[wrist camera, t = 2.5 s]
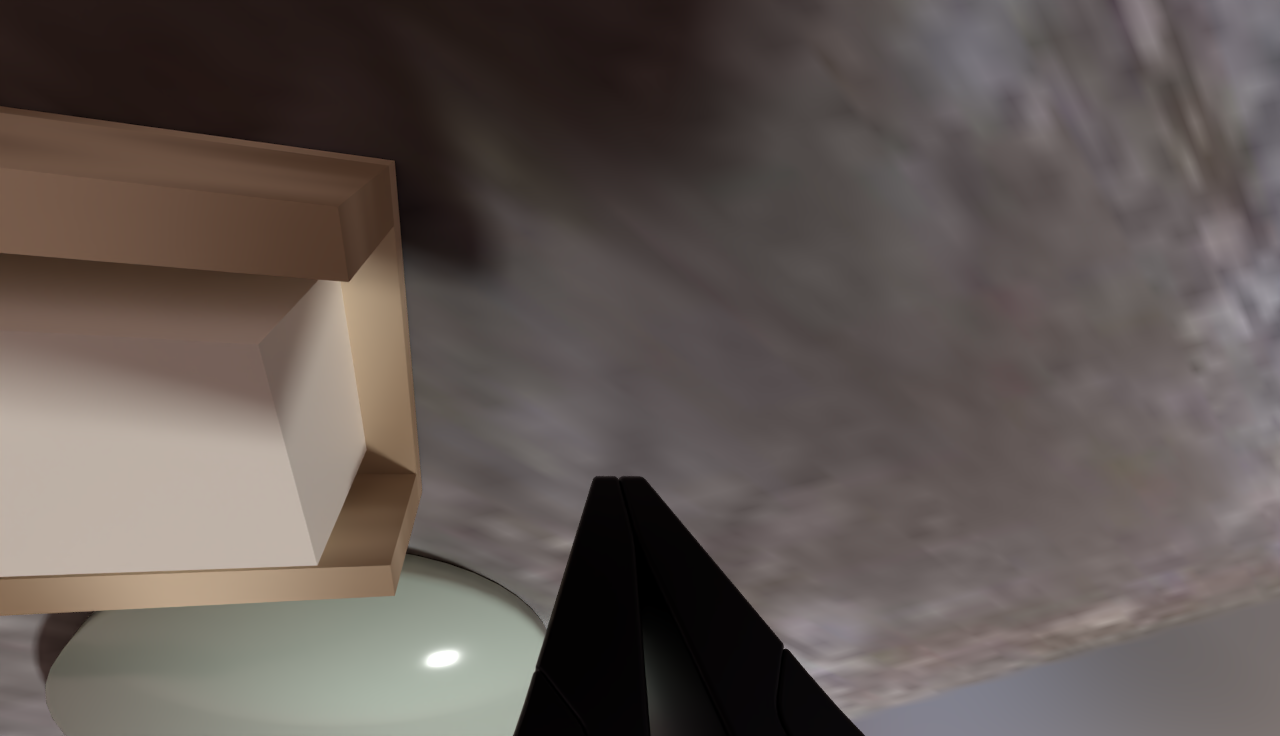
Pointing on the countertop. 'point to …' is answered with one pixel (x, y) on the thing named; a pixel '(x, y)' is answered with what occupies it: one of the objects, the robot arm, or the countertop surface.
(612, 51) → the countertop surface
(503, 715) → the green plate
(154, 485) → the cream block
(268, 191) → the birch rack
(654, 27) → the countertop surface
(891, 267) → the countertop surface
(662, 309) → the countertop surface
